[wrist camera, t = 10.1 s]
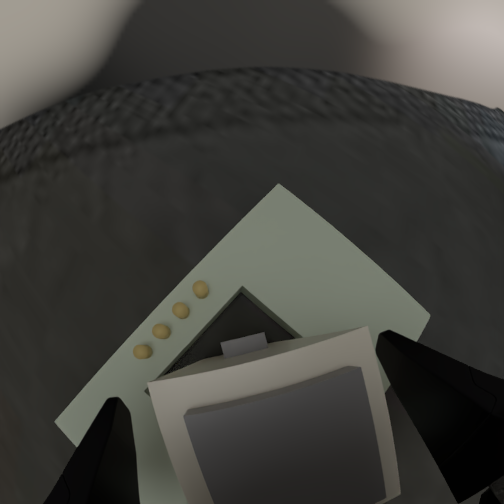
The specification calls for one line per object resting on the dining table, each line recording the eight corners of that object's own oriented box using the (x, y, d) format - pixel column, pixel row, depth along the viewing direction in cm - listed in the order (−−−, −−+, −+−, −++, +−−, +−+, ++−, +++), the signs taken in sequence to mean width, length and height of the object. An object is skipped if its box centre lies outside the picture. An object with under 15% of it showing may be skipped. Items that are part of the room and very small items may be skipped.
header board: (221, 539, 12) (220, 563, 9) (68, 416, 15) (45, 424, 12) (415, 319, 19) (441, 312, 16) (274, 197, 21) (281, 173, 18)
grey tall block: (291, 407, 16) (413, 502, 4) (222, 424, 16) (211, 567, 3) (271, 333, 18) (372, 292, 5) (201, 349, 17) (129, 352, 4)
